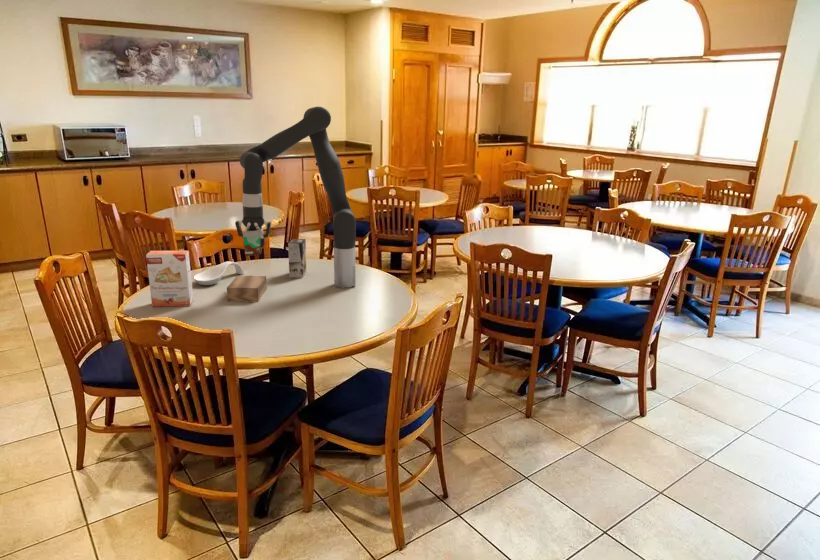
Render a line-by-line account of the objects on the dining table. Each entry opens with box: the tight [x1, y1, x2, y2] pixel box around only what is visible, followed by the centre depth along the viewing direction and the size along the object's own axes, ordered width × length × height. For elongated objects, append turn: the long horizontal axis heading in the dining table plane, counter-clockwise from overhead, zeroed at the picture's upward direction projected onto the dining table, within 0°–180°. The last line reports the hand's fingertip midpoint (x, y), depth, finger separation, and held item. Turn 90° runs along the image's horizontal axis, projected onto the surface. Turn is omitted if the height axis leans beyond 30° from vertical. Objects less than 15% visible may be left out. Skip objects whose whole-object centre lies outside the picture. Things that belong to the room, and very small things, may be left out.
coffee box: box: [287, 238, 308, 279], centre depth 245 cm, size 9×6×16 cm
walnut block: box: [226, 275, 268, 303], centre depth 219 cm, size 12×16×6 cm
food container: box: [242, 228, 265, 257], centre depth 213 cm, size 12×6×10 cm, turn 0°
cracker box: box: [145, 250, 194, 308], centre depth 204 cm, size 14×6×21 cm, turn 99°
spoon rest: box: [193, 261, 244, 286], centre depth 237 cm, size 24×12×7 cm, turn 149°
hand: (254, 246), depth 214 cm, fingers closed on food container, 5 cm apart
